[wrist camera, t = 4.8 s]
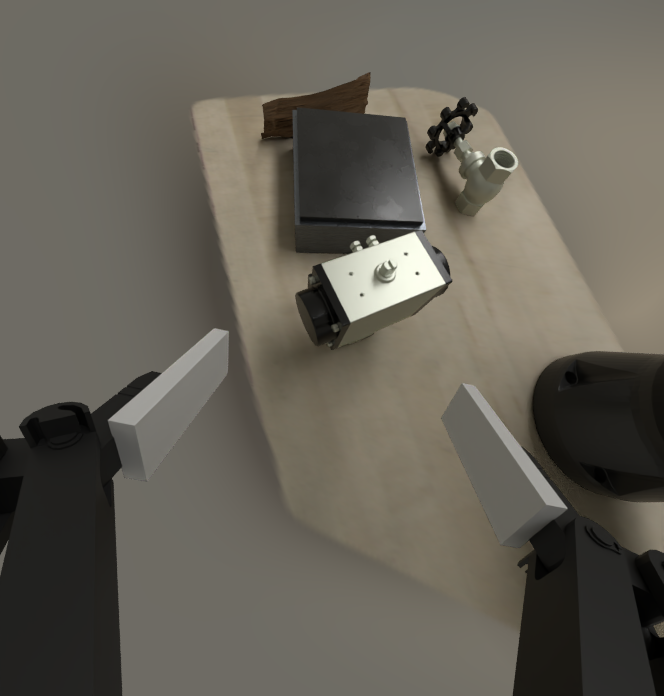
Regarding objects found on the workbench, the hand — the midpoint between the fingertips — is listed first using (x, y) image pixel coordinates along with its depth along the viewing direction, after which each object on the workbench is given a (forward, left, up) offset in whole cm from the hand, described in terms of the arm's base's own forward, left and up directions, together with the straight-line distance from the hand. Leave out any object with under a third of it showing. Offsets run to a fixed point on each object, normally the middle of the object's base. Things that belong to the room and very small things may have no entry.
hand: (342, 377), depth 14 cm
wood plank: (+36, -1, -12) cm, 38 cm away
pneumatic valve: (+8, -3, -12) cm, 15 cm away
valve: (+28, -20, -12) cm, 37 cm away
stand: (+25, -4, -12) cm, 28 cm away
